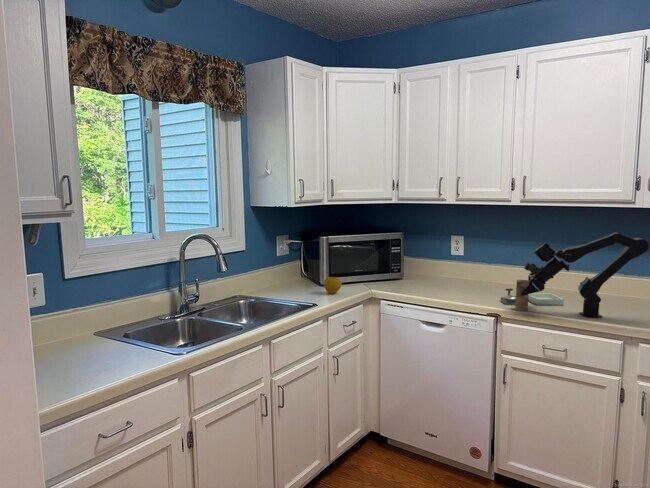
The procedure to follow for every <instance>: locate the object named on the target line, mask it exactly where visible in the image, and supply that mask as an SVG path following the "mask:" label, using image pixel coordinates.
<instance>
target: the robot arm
mask: <svg viewBox="0 0 650 488" xmlns="http://www.w3.org/2000/svg"><path fill="white" fill-rule="evenodd" d="M615 244H619V245H622V246H624V249H623V250H622V251H621V253H620V254H618V256H616V257H615V258H614V259H613V260H612V261H611V262H610V263H608V264H607V265H606V266H605V267H604V268H602V270H600V271H599V272H598V273H597V274H595V276H592V277H591V278H589V277H588V276H586V277H585V278H584V280H582V281H580V282H579V285H578V289H577V292H578V293H579V294H580V296H581V297H582V298H583V304H582V312H581V311H579V313H578V314H579V315H582V316H584V317H586V318H603V315H601V314H600V313H599V312H600V303H601V302H602V298H601V297H600V296H599V294H597V293H599V291H600V289H601V287H602V286H603V285H604V284H605V283H606V282H607V281H608V280H609V279H610V278H612V277H613V276H614V275H615V274H616V273H617V272H619V271H620V270H621V269H622V268H623V267H624V266H626V265H627V264H628V263H629V262H630V261H632V260H634V259H636V258H638V257H640V256H642V255H643V254H646V252H648V251H649V249H650V245H649V242H648V241H647V240H646V239H644V238H641V237H630V236H626V235H623V234H621V233H619V232H613V233H611V234H608V235H605V236H602V237H601V238H598V239H595V240H593V241H590V242H587V243H584V244H581V245H574V246H573V245H572V246H569V247H565V248H563V249H562V250H554V249H553V248H552V247H551V246H550V244H549V243H548V242H544V243H543V244H542V245H540V246H538V247H537V248H535V250H534V251H533V253H534V255H535V256H536V257H537V258H538V259H539V260H540V261H541V262H542V263H543V262H545V263H546V264H544V265H541V266H538V265H537V264H536V263H534V262H530V261H526V264H525V265H524V267H523V268H524V270H525V271H528V272H529V273H528V277H527V280H529V285H528V286H527V287H526V288H525V289H524V291H523V292H522V293H521V295H522V296H524V295H528V294H531V293H540V292H542V291H544V290H545V289H546V288H545V287H546V284H547V282H549V281H550V280H551V279H554V276H556V275H557V274H559V273H560V272H561V271H563V269H564V270H565V271H567V272H570V264H571V263H574V262H577V261H579V259H582V258H583V257H584V256H586V255H589V254H590V253H593V252H596V251H598V250H601V249H604V248H606V247H610V246H612V245H615ZM565 262H566V263H565ZM568 263H569V264H568Z"/></svg>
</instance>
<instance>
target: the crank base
mask: <svg viewBox="0 0 650 488" xmlns="http://www.w3.org/2000/svg"><path fill="white" fill-rule="evenodd" d="M500 302H501V303H503V304H504V305H506V306H515V305H516V300H507V299H504V296H502V297H500Z"/></svg>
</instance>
